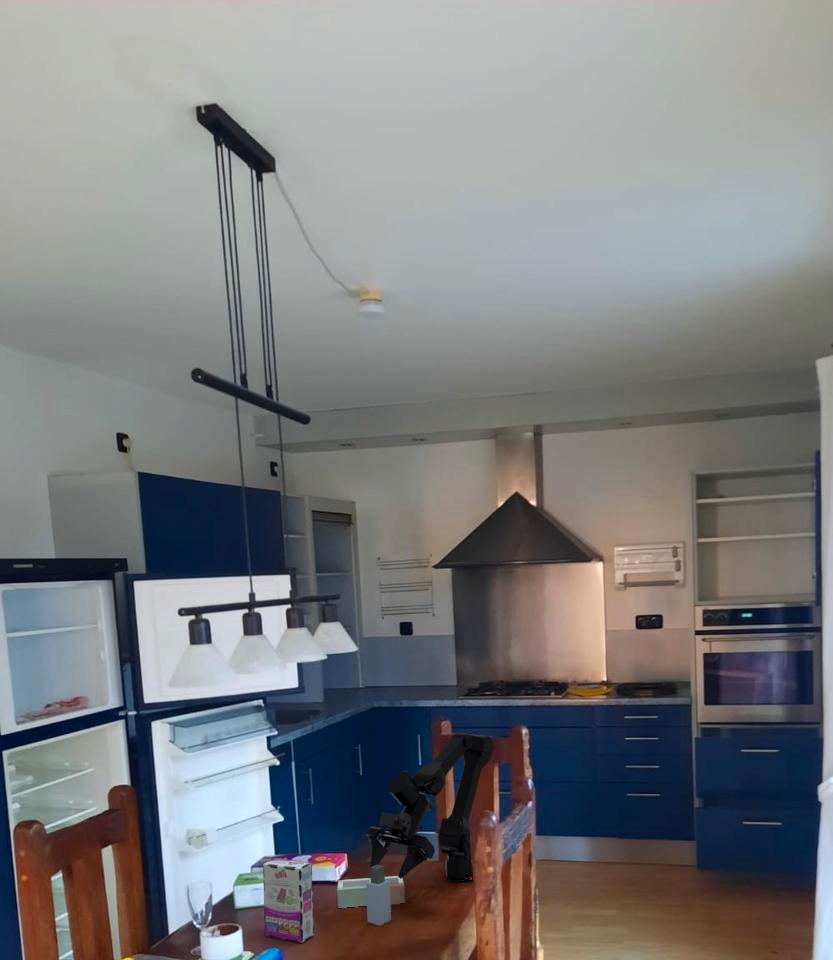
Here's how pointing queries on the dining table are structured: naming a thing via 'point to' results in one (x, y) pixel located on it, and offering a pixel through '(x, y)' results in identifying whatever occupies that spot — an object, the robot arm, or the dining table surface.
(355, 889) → the socket block
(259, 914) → the dining table surface
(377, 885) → the grey capped bottle
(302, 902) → the candy bar box
